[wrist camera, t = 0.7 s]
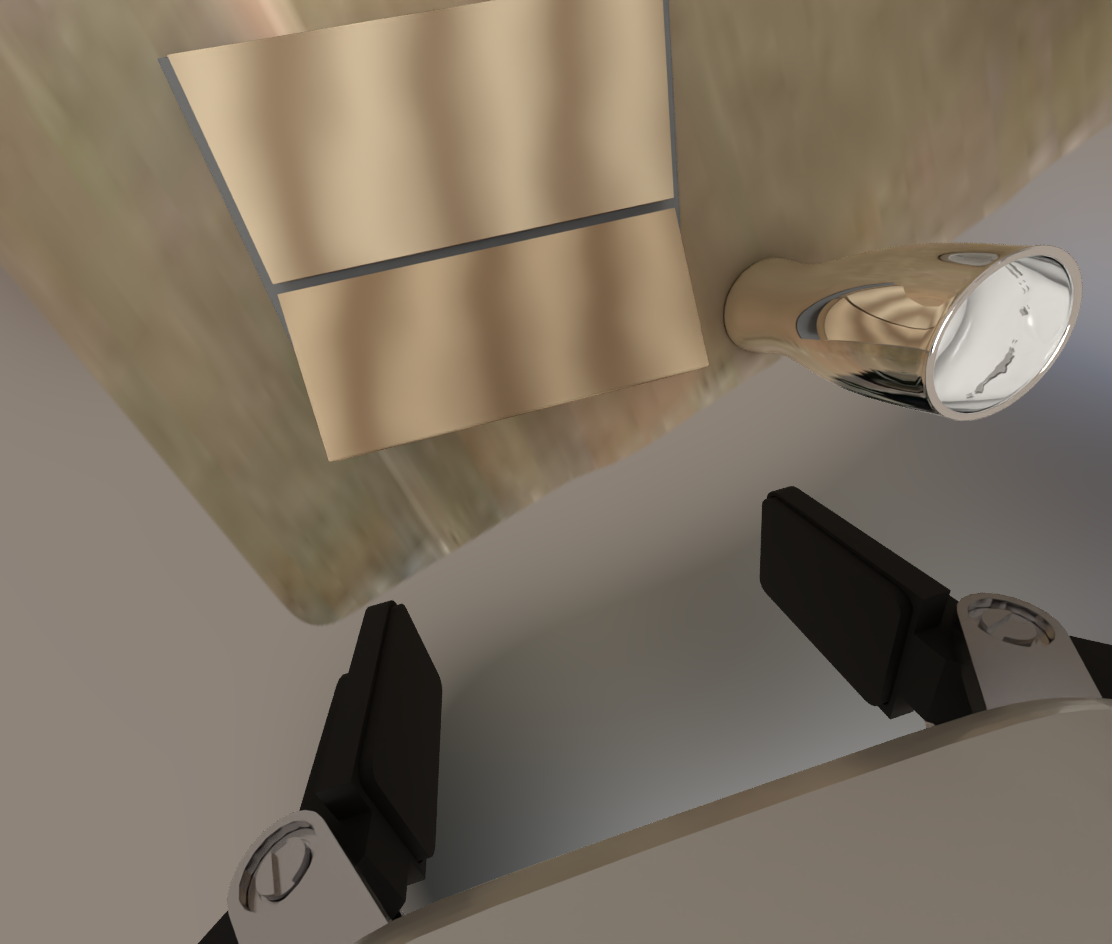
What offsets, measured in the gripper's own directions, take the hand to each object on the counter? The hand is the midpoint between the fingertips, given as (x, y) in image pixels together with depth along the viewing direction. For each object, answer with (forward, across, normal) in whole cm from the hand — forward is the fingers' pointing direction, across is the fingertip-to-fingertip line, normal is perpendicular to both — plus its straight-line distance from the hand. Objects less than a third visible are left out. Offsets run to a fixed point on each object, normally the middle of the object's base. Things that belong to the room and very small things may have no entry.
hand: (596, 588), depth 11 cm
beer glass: (+21, -18, -1) cm, 27 cm away
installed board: (+20, 0, -13) cm, 24 cm away
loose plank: (+18, 0, -3) cm, 18 cm away
